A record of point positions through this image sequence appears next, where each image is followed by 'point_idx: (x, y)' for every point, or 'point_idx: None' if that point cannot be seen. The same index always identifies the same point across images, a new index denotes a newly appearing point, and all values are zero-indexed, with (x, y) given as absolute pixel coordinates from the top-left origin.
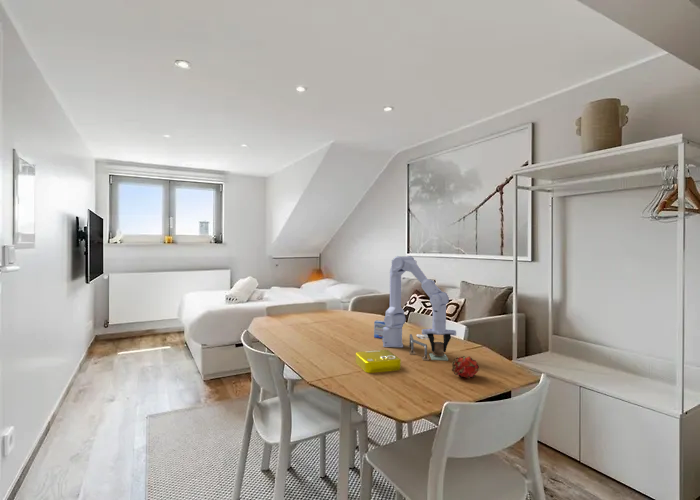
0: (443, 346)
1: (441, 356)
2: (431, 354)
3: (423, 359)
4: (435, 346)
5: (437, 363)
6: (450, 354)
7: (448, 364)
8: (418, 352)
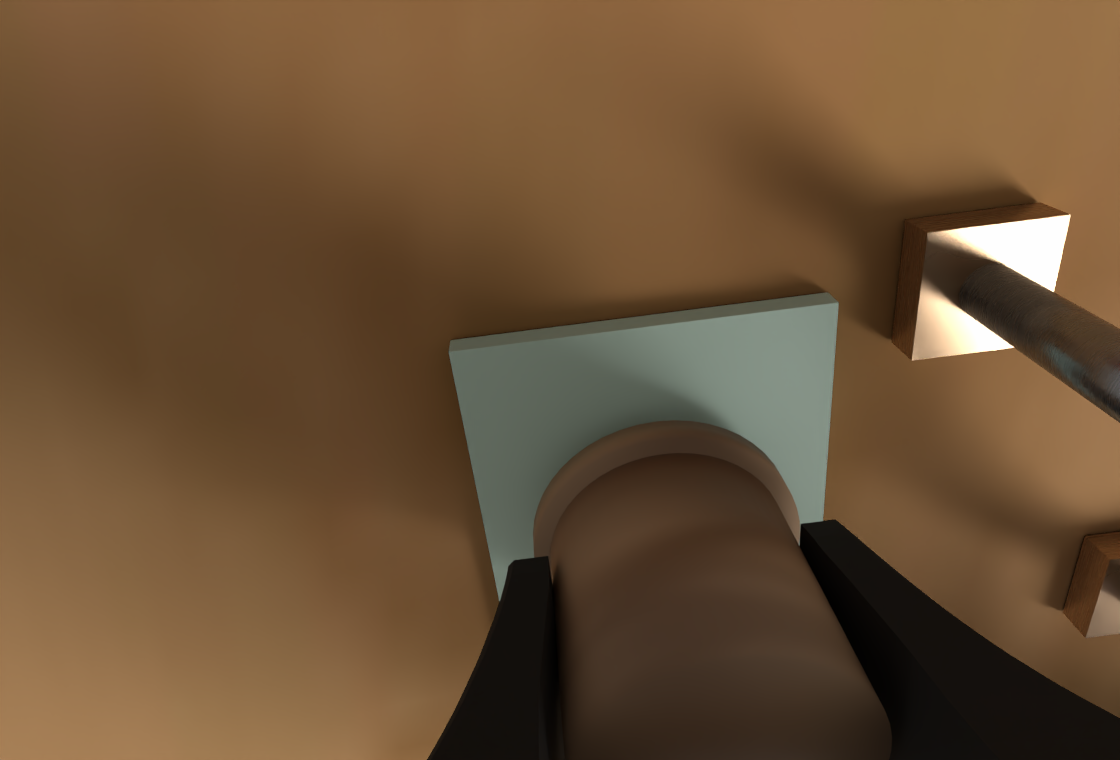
0: (576, 661)
1: None
2: None
3: (1047, 209)
4: (820, 612)
5: (729, 37)
6: (412, 693)
7: (443, 19)
8: None
